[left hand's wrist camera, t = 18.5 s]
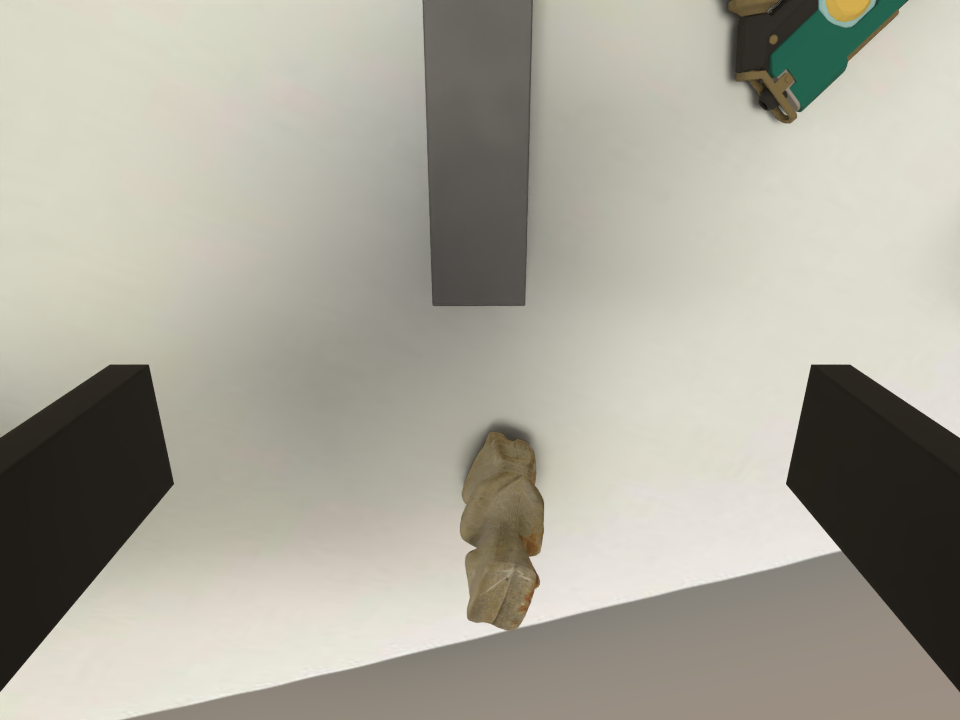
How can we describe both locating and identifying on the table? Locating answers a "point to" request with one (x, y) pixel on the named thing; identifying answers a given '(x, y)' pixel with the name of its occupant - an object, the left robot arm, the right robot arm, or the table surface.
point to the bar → (478, 148)
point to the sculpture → (502, 531)
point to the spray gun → (802, 45)
